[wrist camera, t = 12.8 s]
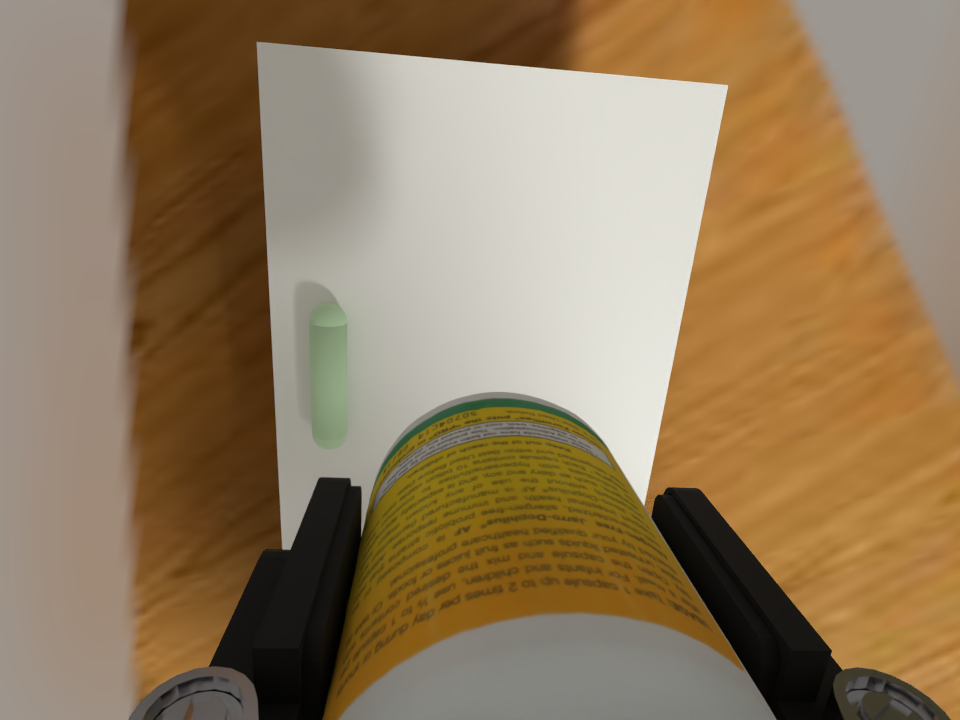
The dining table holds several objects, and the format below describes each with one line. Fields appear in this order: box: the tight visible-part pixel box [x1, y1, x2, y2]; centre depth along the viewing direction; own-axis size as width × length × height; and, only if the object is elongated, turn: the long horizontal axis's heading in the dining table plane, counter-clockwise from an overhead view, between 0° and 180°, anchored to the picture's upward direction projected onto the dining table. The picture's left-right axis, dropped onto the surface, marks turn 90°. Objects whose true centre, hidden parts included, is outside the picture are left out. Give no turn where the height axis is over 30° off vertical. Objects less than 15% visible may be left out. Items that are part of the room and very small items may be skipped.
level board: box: [257, 42, 728, 550], centre depth 20 cm, size 20×14×3 cm
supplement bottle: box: [322, 392, 776, 720], centre depth 8 cm, size 5×5×10 cm
